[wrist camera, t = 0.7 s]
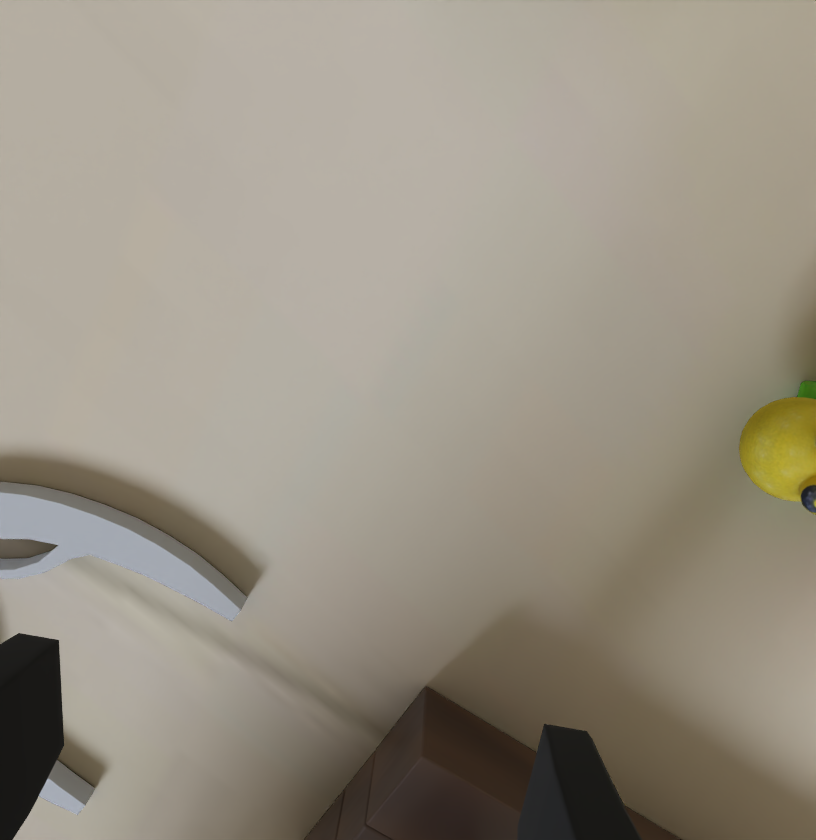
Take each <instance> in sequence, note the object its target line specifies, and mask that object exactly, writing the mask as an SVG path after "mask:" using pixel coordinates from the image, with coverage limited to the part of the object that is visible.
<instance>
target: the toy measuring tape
mask: <svg viewBox="0 0 816 840" xmlns="http://www.w3.org/2000/svg"><path fill="white" fill-rule="evenodd" d="M739 452H740V459H741V463H742V466H743V468H744V470H745V472H746V473H747V474H748V476H749V477H750V479H751V480H752V481H753V483H754V484H756V485H757V486H758V487H759V488H760V489H762V490H763V491H765V492H766V493H768V494H770V495H772V496H774V497H777V498H780V499H783V500H788V501H801V502H802V504H803V506H804V507H805V508H806V509H807V510H808V511H810V512H811V513H813V514H815V515H816V381H804V382H802V383H801V386H800V389H799V392H798V395H797V397H791V398H784V399H780V400H777V401H774V402H771V403H769V404H768V405H766V406H764V407H762V408H760V409H759V410H758V411H757V412H756V413H755V414H753V416H752V417H751V418H750V419H749V421H748V422H747V424H746V425H745V427H744V429H743V431H742V435H741V439H740V445H739Z"/></svg>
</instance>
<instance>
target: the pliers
mask: <svg viewBox="0 0 816 840" xmlns="http://www.w3.org/2000/svg"><path fill="white" fill-rule="evenodd" d="M0 539H31V540H36V541H41V542H46V543H51V544H56V545H57V546H56V547H55V548H54V549H53V550H51V551H49V552H46V553H42V554H39V555H36V556H33V557H30V558H17V559H0V579H20V578H24V577H28V576H32V575H36V574H40V573H44V572H47V571H49V570H51V569H52V568H54V567H56V566H58V565H60V564H62V563H64V562H66V561H68V560H70V559H73V558H77V557H82V556H86V555H92V556H95V557H98V558H100V559H103V560H106V561H109V562H111V563H114V564H117V565H119V566H122V567H124V568H127V569H129V570H132V571H134V572H137V573H139V574H142V575H144V576H147V577H149V578H151V579H153V580H155V581H157V582H159V583H161V584H163V585H165V586H167V587H169V588H171V589H173V590H175V591H177V592H179V593H181V594H183V595H185V596H186V597H188V598H190V599H192V600H194V601H196V602H198V603H200V604H202V605H204V606H206V607H207V608H209V609H211V610H213V611H214V612H216V613H218V614H220V615H221V616H223V617H225V618H226V619H228V620H230V621H233V619H234V618H235V617H236V616H237V614H238V613H239V612H240V611H241V609H242V607H243V605H244V603H245V601H246V599H247V597H246V596H245V595H244V594H243V593H242V592H241V591H240V590H239V589H238V588H237V587H236V586H234V585H233V584H232V583H231V582H230V581H229V580H228V579H227V578H226V577H225V576H224V575H223V574H221V573H220V572H219V571H218V570H216V569H215V568H214V567H213V566H212V565H210V564H209V563H208V562H207V561H205V560H204V559H203V558H202V557H201V556H199V555H198V554H197V553H195V552H194V551H192V550H191V549H189V548H188V547H186V546H185V545H183V544H182V543H180V542H178V541H177V540H175V539H174V538H172V537H171V536H169V535H168V534H166V533H164V532H162V531H160V530H158V529H156V528H155V527H153V526H151V525H149V524H147V523H145V522H144V521H142V520H140V519H138V518H136V517H133V516H131V515H129V514H126V513H124V512H121V511H119V510H117V509H114V508H112V507H109V506H107V505H104V504H101V503H98V502H95V501H92V500H90V499H87V498H84V497H81V496H78V495H75V494H71V493H67V492H63V491H59V490H55V489H50V488H46V487H42V486H37V485H28V484H19V483H9V482H0ZM94 790H95V788H94V787H92V786H91V785H90V784H88V783H87V782H85V781H84V780H83V779H81V778H80V777H79V776H77V775H76V774H75V773H73V772H72V771H70V770H69V769H68V768H67V767H65V766H64V765H63V764H62V763H61V762H59V761H58V760H56V763H55V765H54V767H53V769H52V771H51V773H50V775H49V777H48V779H47V781H46V783H45V785H44V787H43V788H42V790H41V792H40V794H39V797H41V798H43V799H45V800H47V801H49V802H51V803H53V804H55V805H57V806H60V807H62V808H64V809H66V810H68V811H71V812H73V813H75V814H77V815H78V814H79V813H80V811H81V810H82V809H83V808H84V806H85V805H86V803H87V802H88V800H89V798H90V797H91V795H92V793H93V792H94Z"/></svg>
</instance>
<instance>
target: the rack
mask: <svg viewBox="0 0 816 840" xmlns="http://www.w3.org/2000/svg"><path fill="white" fill-rule="evenodd" d="M536 754H537V753H536V752H534V751H533V750H531V749H529V748H528V747H526V746H524V745H523V744H521V743H519V742H518V741H516V740H514V739H513V738H511V737H510V736H508V735H506V734H505V733H503V732H501V731H500V730H498V729H496V728H495V727H493V726H491V725H490V724H488V723H486V722H485V721H483V720H481V719H480V718H478V717H476V716H475V715H473V714H471V713H470V712H468V711H466V710H465V709H463V708H461V707H460V706H458V705H456V704H455V703H453V702H451V701H450V700H448V699H446V698H445V697H443V696H441V695H440V694H438V693H436V692H435V691H433V690H431V689H430V688H428V687H425V688H424V689H423V690H422V692H421V693H420V694H419V695H418V697H417V698H416V699H415V701H414V702H413V703H412V704H411V706H410V707H409V708H408V709H407V711H406V712H405V713H404V714H403V716H402V717H401V718H400V719H399V721H398V722H397V723H396V724H395V726H394V727H393V728H392V730H391V731H390V732H389V733H388V735H387V736H386V737H385V738H384V740H383V741H382V742H381V743H380V745H379V746H378V747H377V748H376V751H375V752H374V753H373V754H372V755H371V757H370V758H369V759H368V760H367V762H366V763H365V764H364V765H363V767H362V768H361V769H360V770H359V772H358V773H357V774H356V775H355V777H354V778H353V779H352V781H351V782H350V783H349V784H348V786H347V787H346V789H345V790H343V792H342V793H341V794H340V795H339V797H338V798H337V799H336V800H335V802H334V803H333V804H332V805H331V807H330V808H329V809H328V810H327V812H326V813H325V814H324V816H323V817H322V818H321V819H320V821H319V822H318V823H317V824H316V826H315V827H314V828H313V829H312V831H311V832H310V833H309V834H308V836H307V837H306V838H305V839H304V840H517V834H518V823H519V819H520V815H521V811H522V807H523V803H524V800H525V796H526V792H527V788H528V784H529V781H530V777H531V773H532V769H533V765H534V762H535V758H536ZM625 808H626V810H627V812H628V814H629V816H630V818H631V820H632V822H633V823H634V825H635V827H636V829H637V831H638V833H639V835H640V837H641V838H642V840H681V839H679V838H677V837H676V836H674V835H672V834H671V833H669V832H667V831H666V830H664V829H662V828H661V827H659V826H657V825H656V824H654V823H652V822H651V821H649V820H647V819H646V818H644V817H642V816H641V815H639V814H637V813H636V812H634V811H632V810H631V809H629V808H627V807H626V806H625Z"/></svg>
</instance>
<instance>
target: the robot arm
mask: <svg viewBox="0 0 816 840" xmlns="http://www.w3.org/2000/svg"><path fill="white" fill-rule="evenodd" d="M63 746H64V735H63V715H62V695H61V675H60V655H59V640H55V639H49V638H44V637H38V636H32V635H26V634H20V633H18V634H17V635H15V636H13V637H12V638H10V639H8V640H7V641H5V642H3V643H2V644H0V840H13V838H14V836H15V835H16V833H17V832H18V830H19V829H20V827H21V826H22V824H23V823H24V821H25V819H26V818H27V816H28V815H29V813H30V811H31V809H32V808H33V806H34V804H35V802H36V800H37V798H38V796H39V794H40V792H41V790H42V788H43V787H44V785H45V783H46V781H47V779H48V777H49V775H50V773H51V771H52V769H53V767H54V765H55V763H56V760H57V758H58V756H59V754H60V752H61V750H62V748H63ZM517 840H642V838H641V837H640V835H639V833H638V831H637V829H636V827H635V825H634V823H633V822H632V820H631V818H630V816H629V814H628V812H627V810H626V808H625V806H624V804H623V802H622V800H621V798H620V796H619V794H618V792H617V790H616V788H615V786H614V784H613V782H612V780H611V778H610V776H609V774H608V772H607V770H606V768H605V766H604V763H603V761H602V759H601V757H600V755H599V753H598V751H597V748H596V746H595V744H594V742H593V740H592V738H591V737H590V735H589V734H588V733H587V731H582V730H576V729H570V728H565V727H559V726H553V725H547V724H544V727H543V731H542V735H541V739H540V743H539V746H538V750H537V754H536V758H535V762H534V765H533V769H532V773H531V777H530V781H529V784H528V788H527V792H526V796H525V800H524V803H523V807H522V811H521V815H520V819H519V823H518V834H517Z"/></svg>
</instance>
